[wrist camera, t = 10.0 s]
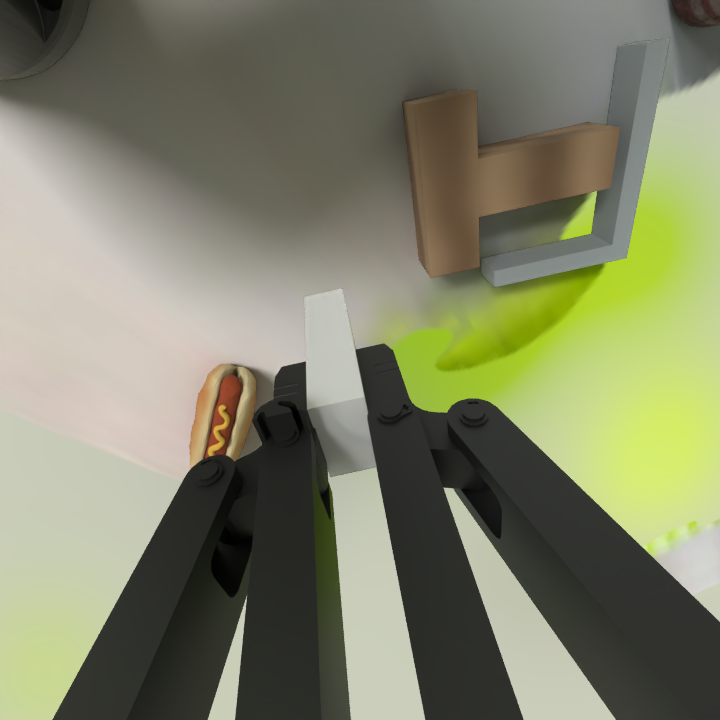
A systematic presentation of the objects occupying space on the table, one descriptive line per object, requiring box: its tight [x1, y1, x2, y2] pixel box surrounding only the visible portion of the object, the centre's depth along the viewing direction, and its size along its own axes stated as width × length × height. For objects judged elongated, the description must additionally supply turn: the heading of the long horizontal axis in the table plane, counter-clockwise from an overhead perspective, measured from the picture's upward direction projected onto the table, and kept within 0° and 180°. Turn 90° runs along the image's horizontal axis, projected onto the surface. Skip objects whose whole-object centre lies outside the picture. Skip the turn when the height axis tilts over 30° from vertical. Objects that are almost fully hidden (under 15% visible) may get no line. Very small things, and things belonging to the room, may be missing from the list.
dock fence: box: [481, 38, 670, 287], centre depth 32 cm, size 12×15×3 cm
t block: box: [402, 90, 620, 278], centre depth 31 cm, size 14×12×4 cm
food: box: [190, 364, 256, 468], centre depth 41 cm, size 14×6×5 cm, turn 160°
